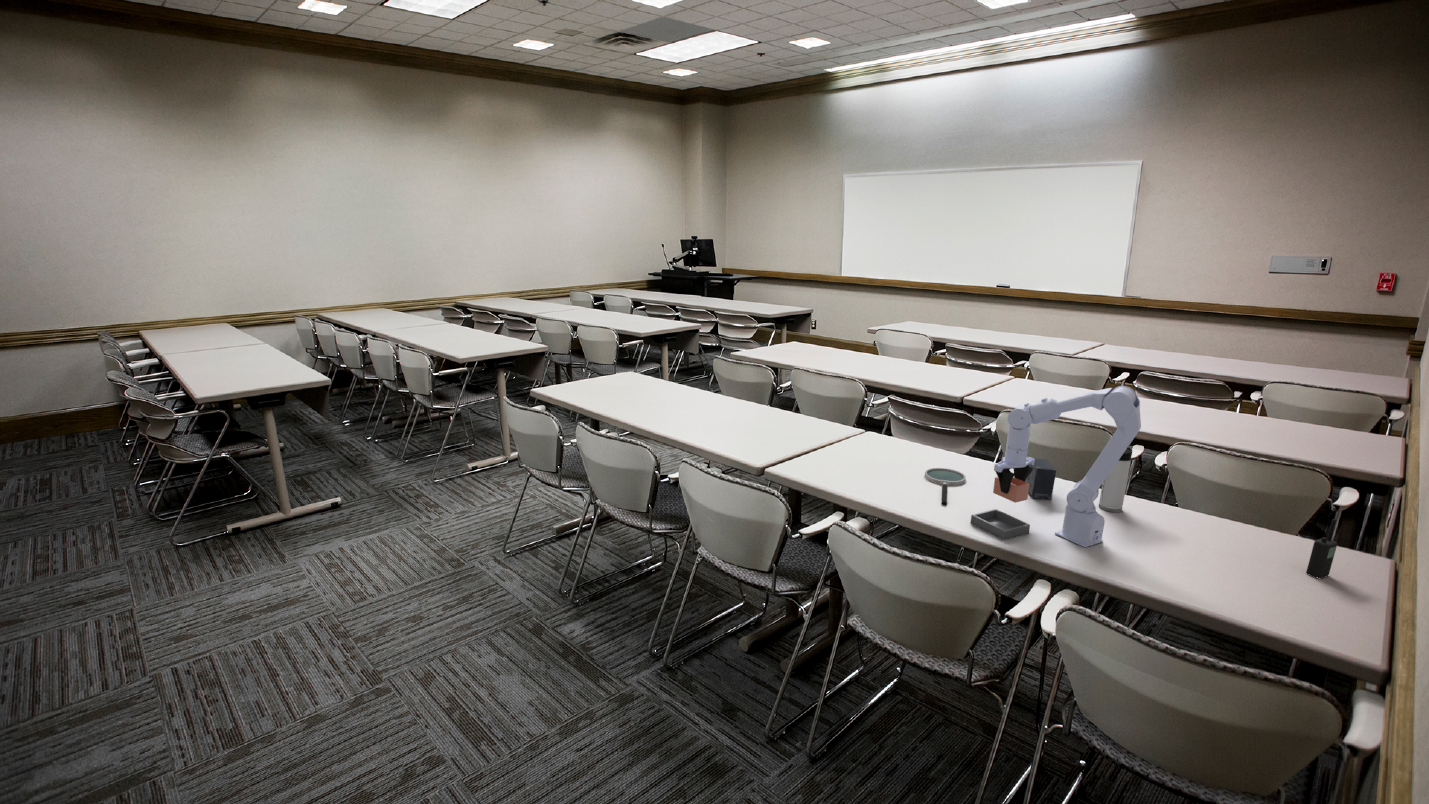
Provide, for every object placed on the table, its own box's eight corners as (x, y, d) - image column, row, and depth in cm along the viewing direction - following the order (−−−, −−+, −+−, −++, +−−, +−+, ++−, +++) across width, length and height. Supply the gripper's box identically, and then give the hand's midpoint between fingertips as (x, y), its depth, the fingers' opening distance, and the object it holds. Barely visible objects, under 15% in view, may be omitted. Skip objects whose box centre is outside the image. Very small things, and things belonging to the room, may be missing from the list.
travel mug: (1124, 508, 208) (1135, 447, 203) (1118, 514, 204) (1130, 452, 198) (1101, 502, 212) (1112, 442, 207) (1096, 508, 208) (1106, 447, 202)
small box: (1053, 500, 213) (1057, 469, 211) (1031, 498, 214) (1035, 468, 212) (1044, 488, 223) (1048, 458, 221) (1023, 486, 224) (1027, 457, 222)
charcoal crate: (1028, 534, 190) (1030, 524, 190) (1003, 541, 186) (1005, 531, 185) (994, 518, 201) (995, 508, 200) (970, 524, 196) (971, 514, 196)
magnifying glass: (921, 503, 211) (922, 497, 211) (925, 470, 239) (925, 465, 239) (966, 509, 207) (967, 503, 206) (964, 475, 235) (965, 470, 235)
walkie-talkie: (1319, 579, 167) (1334, 524, 163) (1303, 573, 170) (1318, 518, 166) (1330, 575, 169) (1345, 521, 165) (1314, 569, 172) (1328, 515, 168)
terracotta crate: (1027, 499, 196) (1029, 483, 194) (1015, 502, 194) (1017, 486, 192) (1004, 489, 203) (1006, 474, 201) (993, 492, 200) (994, 477, 199)
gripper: (1022, 439, 201) (1016, 482, 204) (987, 446, 194) (982, 490, 198) (1043, 446, 194) (1036, 490, 198) (1008, 453, 188) (1002, 498, 192)
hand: (1011, 490), depth 197 cm, fingers closed on terracotta crate, 5 cm apart
